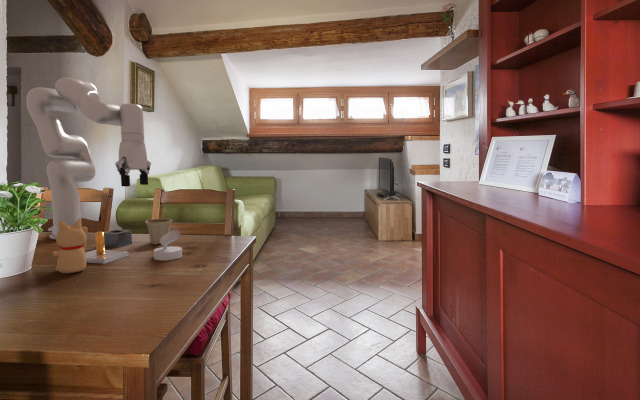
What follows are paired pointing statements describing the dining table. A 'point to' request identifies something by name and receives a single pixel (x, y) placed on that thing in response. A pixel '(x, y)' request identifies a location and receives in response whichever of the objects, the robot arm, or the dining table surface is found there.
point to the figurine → (71, 247)
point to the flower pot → (158, 229)
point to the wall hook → (165, 251)
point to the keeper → (103, 252)
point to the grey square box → (117, 238)
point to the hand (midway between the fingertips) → (135, 185)
